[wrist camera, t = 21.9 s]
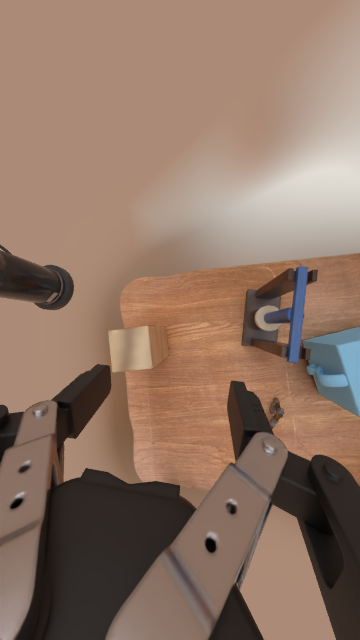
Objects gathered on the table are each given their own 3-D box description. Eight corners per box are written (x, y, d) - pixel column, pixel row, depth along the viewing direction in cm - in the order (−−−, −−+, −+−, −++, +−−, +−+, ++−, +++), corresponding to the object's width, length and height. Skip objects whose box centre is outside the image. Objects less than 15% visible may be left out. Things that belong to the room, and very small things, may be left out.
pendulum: (251, 349, 36) (273, 360, 25) (258, 285, 37) (284, 265, 25) (277, 352, 36) (314, 365, 24) (284, 287, 36) (323, 267, 24)
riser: (140, 358, 44) (112, 372, 30) (137, 329, 45) (108, 330, 31) (169, 355, 43) (152, 368, 30) (165, 326, 44) (147, 325, 30)
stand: (241, 344, 41) (267, 356, 24) (246, 290, 42) (275, 265, 25) (274, 348, 40) (324, 363, 24) (279, 293, 41) (332, 269, 24)
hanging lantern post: (282, 396, 39) (288, 414, 35) (267, 421, 42) (271, 440, 38) (273, 393, 39) (279, 410, 35) (259, 418, 42) (262, 436, 38)
